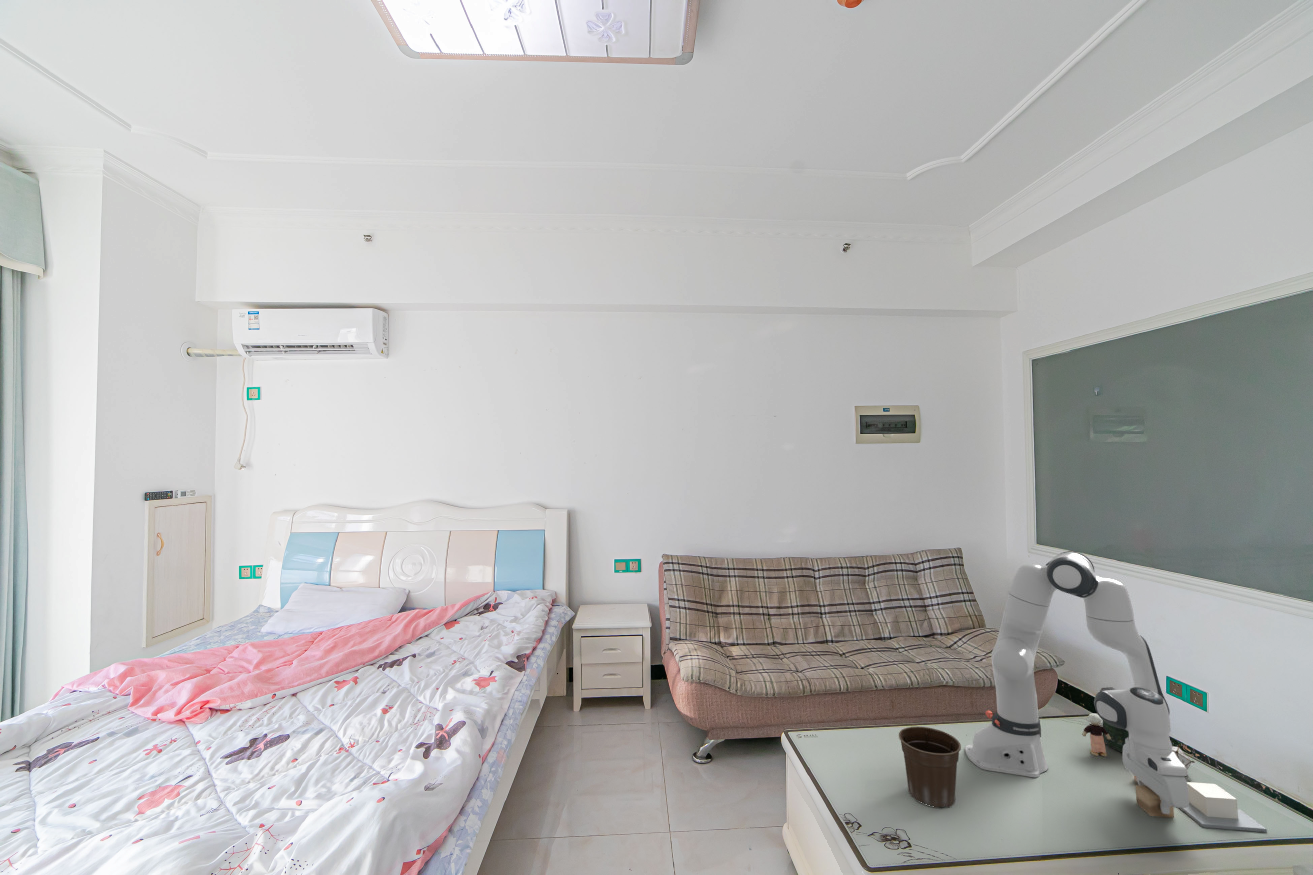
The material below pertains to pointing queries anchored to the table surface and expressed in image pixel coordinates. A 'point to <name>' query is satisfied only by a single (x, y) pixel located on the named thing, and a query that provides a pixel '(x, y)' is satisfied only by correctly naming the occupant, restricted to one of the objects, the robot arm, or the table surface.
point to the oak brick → (1150, 801)
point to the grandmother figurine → (1096, 735)
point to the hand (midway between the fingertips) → (1155, 804)
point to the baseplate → (1224, 821)
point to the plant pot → (930, 764)
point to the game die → (1182, 756)
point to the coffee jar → (1114, 732)
